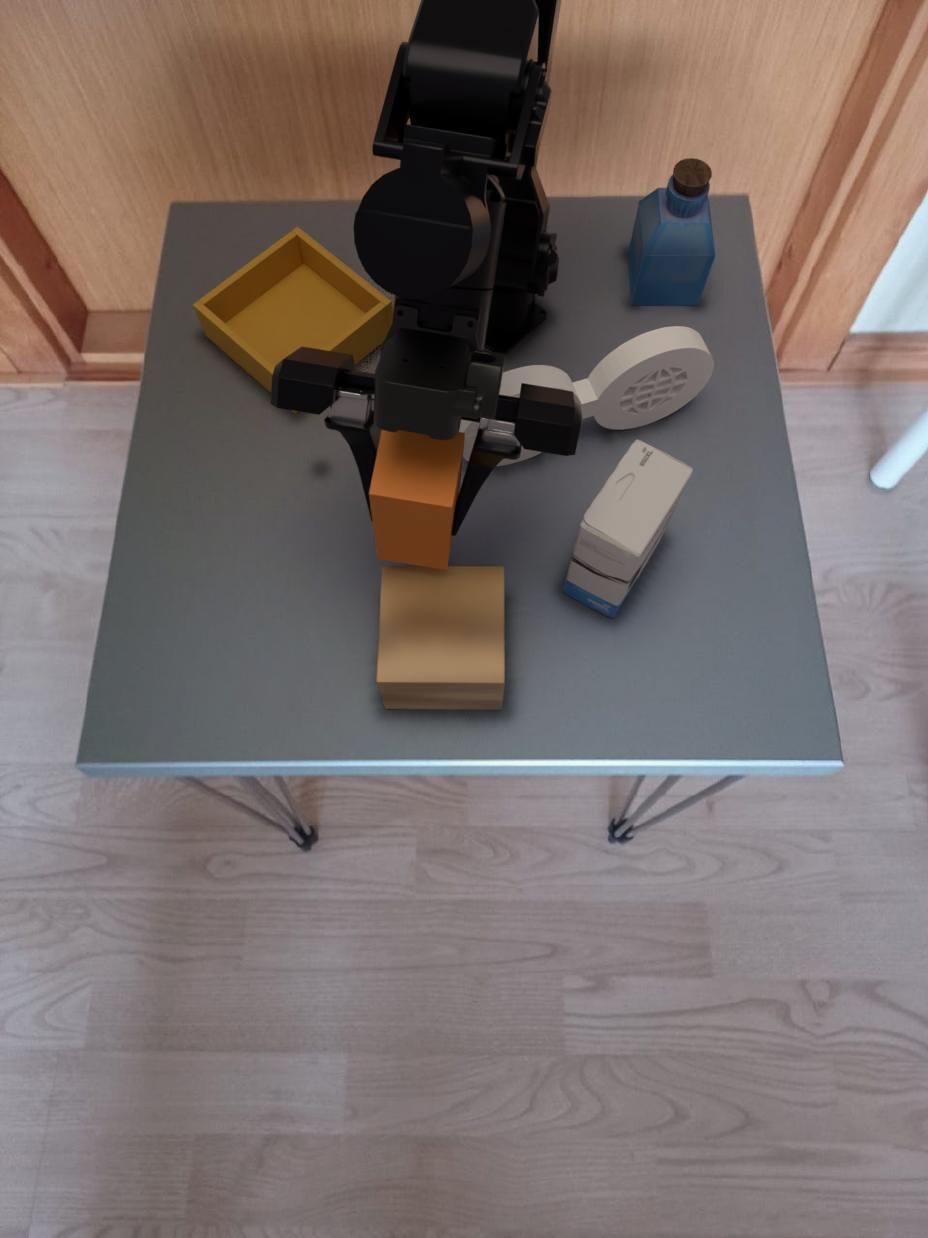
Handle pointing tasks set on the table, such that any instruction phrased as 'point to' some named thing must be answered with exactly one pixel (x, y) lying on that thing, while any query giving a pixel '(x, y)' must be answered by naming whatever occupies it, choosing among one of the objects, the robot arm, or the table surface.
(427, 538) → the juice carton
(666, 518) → the ink box
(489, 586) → the riser block
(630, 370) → the white double disc
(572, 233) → the table surface
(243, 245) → the table surface
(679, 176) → the perfume bottle
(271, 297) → the tray
